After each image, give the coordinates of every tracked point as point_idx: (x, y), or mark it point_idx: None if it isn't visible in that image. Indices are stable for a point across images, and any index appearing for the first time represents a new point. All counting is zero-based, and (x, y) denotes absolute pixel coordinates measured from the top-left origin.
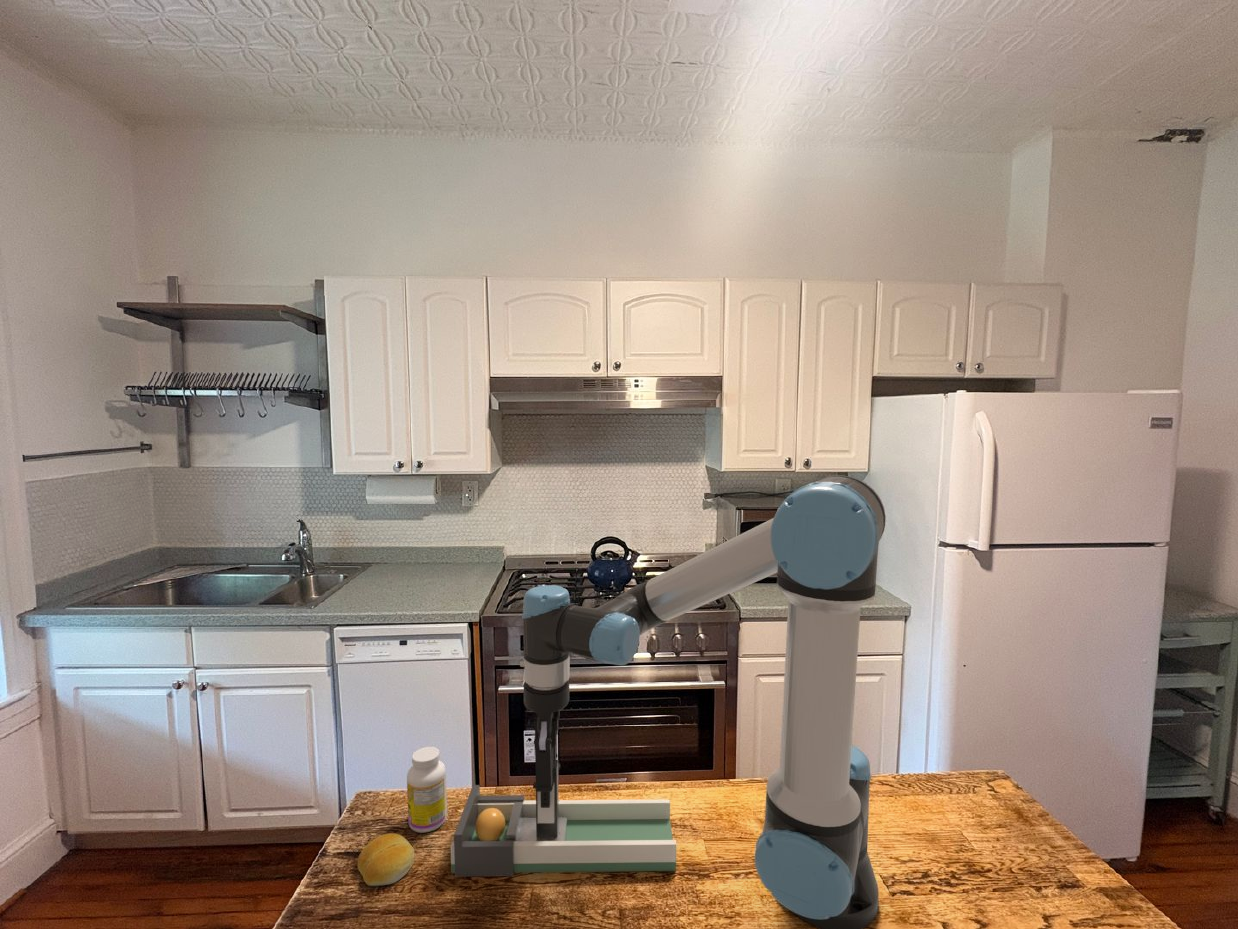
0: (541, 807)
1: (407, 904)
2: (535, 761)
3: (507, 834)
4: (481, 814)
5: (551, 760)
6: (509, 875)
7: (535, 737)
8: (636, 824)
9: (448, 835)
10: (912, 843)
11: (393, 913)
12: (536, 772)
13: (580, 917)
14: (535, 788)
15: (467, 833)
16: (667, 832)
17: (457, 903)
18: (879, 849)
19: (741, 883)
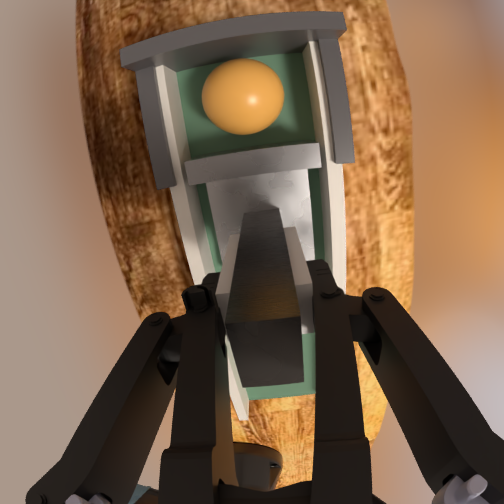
0: (207, 276)
1: (99, 32)
2: (82, 420)
3: (185, 165)
4: (232, 69)
5: (150, 447)
6: None
7: (161, 497)
8: (313, 361)
9: (269, 7)
10: (296, 481)
11: (84, 27)
12: (109, 379)
13: (135, 299)
14: (150, 317)
15: (189, 57)
16: (295, 392)
17: (107, 105)
18: (289, 475)
19: (236, 428)
